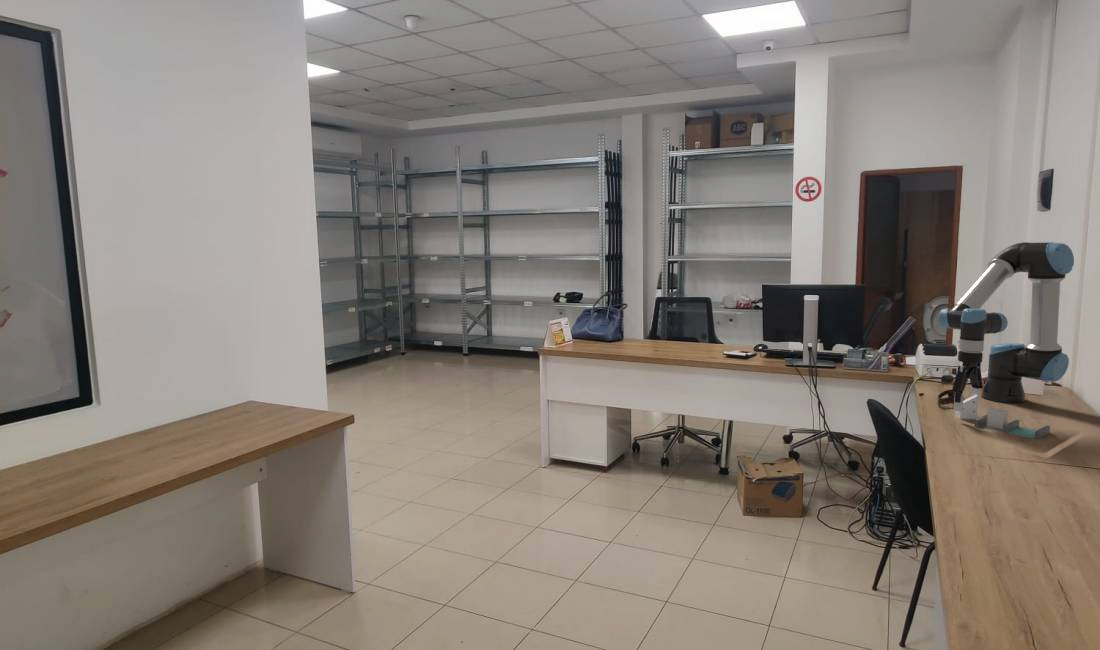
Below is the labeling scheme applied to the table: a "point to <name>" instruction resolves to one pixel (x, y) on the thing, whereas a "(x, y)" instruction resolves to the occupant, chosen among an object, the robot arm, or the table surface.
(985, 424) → the two-compartment cubby shelf
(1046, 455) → the table surface
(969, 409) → the white wedge bracket
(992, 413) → the white rectangular block
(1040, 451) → the table surface
